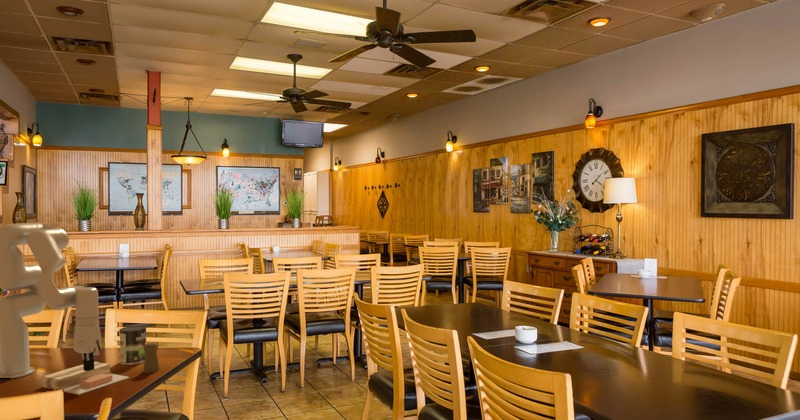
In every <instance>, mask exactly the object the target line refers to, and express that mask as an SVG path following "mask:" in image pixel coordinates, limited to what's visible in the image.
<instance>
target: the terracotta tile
mask: <svg viewBox="0 0 800 420" xmlns="http://www.w3.org/2000/svg"><path fill="white" fill-rule="evenodd" d="M110 381H113V379H112V375H108V374H103V373H101V374H98V375H95V376H92V377H89V378H85V379H82V380H79V386H82V387H87V388H92V387H95V386H98V385H101V384H104V383H107V382H110Z"/></svg>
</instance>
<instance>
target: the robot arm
mask: <svg viewBox="0 0 800 420" xmlns="http://www.w3.org/2000/svg"><path fill="white" fill-rule="evenodd" d="M68 235H69V234H68V233H67V231H65V230H64V229H62V228H61V227H57V226H54V225H50V224H48V223H43V222H21V223H20V222H18V223H9V224H4V225H1V226H0V289H1V291H4V292H14V291H15V292H16V291H21V290H22V291H23V290H25V291H23V292H17V293H12V294H8V295H4V296H1V297H0V378H10V379H15V378H21V377H25V376H28V375H31V374H33V373H34V372H35V367H33V366H30V363H31V362H30V361H31V360H30V338H29V336H30V335H29V334H30V333H29V326H28V324H27V323H26V322H25V320H24V319H23V318H24V317H29V316H33V315H37V314H39V313H42V312H43V311H44V310H45V308H46V305H47V306H48V307H49V308H50V309H51V310H54V311H56V310H57V311H58V310H62V309H63V310H64V309H67V308H72V307H73V308H74V307H75V325H74V331H73V351H75V352H76V353H78V354H80V355H81V360H83V361H82V363H83V364H82V365H83V368H84V371H90V370H93V369H94V362H95V359H96V356H100V351H101V350H102V333H101V329H100V312H99V290H98V288H96V287H92V286H91V287H90V286H87V287H86V286H84V285H83V286H82V285H72V286H66V287H61V288H57V285H56V283H55V282H54V278H53V275H54V273H56V272H58V271H59V270H61V269H62V268H63V267H64V266H65V265H66V263H67V259H66V258H65V256H64V254H63V252H62V251H61V250H63V249H65V248H66V247H68V245H69V240H70V238H69V236H68ZM25 245H28V247H29V249H30V251H31V253H32V255H33V257H34V259H35V260H36V262H37V264H38V265H36V264H25V259H24V257H25V256H24V253H23V252H22V250H21V249H20V247H18V246H25Z"/></svg>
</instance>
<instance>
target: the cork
mask: <svg viewBox="0 0 800 420" xmlns="http://www.w3.org/2000/svg"><path fill="white" fill-rule="evenodd" d="M158 349H159V345H158V343H157V342H146V344H145V345H144V351H145V360H144V362H143V368H142V369H143V370H142V372H143V373H145V374H152V373H151V372H153V373H156V372H155V371H157V372H159V371H160V364H159V363H160V362H159V357H158ZM158 370H159V371H158Z"/></svg>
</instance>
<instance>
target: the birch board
mask: <svg viewBox="0 0 800 420" xmlns="http://www.w3.org/2000/svg"><path fill="white" fill-rule="evenodd" d="M101 373H103V374H111V364H110V363H106V362H105V363H104V362H99V361H94V369H93V370H90V371H84V368H83V364H80V365H79V364H78V365H75V366H73V367H69V368H66V369H62V370H60V371H59V370H58V371H55V372H52V373H49V374H45V375H42V376H41V378H42V379H41V381H42V382H41V383H42V388H45V389H50V390H55V391H57V390H56V389H64V388H67V387H70V386H73V385H76V384H79V380H82V379H85V378H89V377H92V376H95V375H98V374H101Z"/></svg>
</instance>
